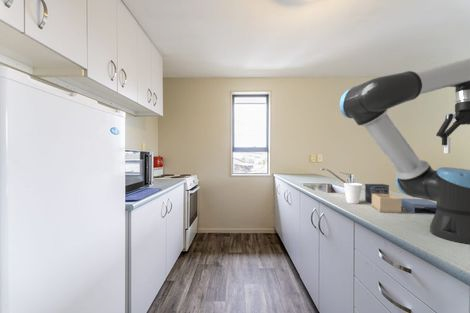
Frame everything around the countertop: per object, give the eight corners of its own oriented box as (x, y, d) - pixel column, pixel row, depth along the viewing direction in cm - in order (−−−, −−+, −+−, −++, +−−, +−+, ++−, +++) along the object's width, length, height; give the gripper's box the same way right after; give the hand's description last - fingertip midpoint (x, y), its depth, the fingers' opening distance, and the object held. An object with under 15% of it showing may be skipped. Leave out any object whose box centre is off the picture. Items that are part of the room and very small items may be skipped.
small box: (383, 201, 136) (383, 183, 136) (389, 203, 129) (389, 185, 129) (364, 200, 137) (364, 183, 137) (369, 203, 130) (370, 184, 130)
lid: (442, 215, 106) (442, 205, 106) (412, 213, 109) (412, 203, 109) (425, 208, 119) (425, 199, 119) (399, 206, 122) (399, 198, 122)
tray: (401, 213, 108) (401, 198, 108) (380, 212, 110) (380, 197, 110) (390, 207, 120) (391, 194, 120) (371, 206, 122) (371, 193, 122)
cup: (366, 204, 127) (366, 184, 127) (351, 205, 124) (352, 185, 124) (353, 200, 137) (353, 182, 136) (339, 201, 134) (339, 183, 134)
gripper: (497, 102, 94) (496, 153, 95) (426, 105, 100) (426, 153, 101) (514, 97, 87) (513, 153, 87) (437, 101, 93) (436, 153, 94)
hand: (466, 153), depth 94 cm, fingers open, 13 cm apart
